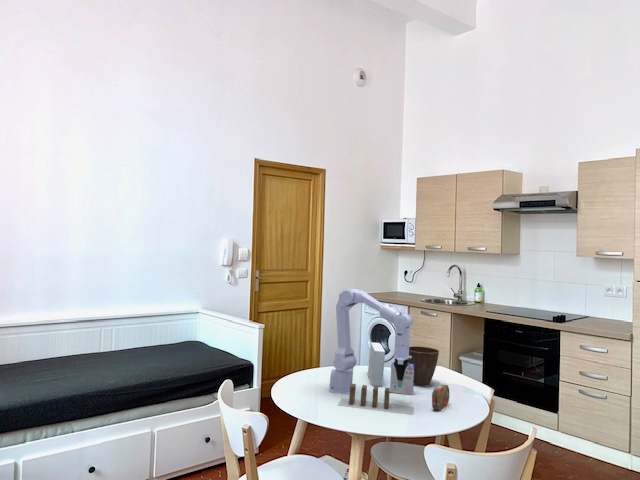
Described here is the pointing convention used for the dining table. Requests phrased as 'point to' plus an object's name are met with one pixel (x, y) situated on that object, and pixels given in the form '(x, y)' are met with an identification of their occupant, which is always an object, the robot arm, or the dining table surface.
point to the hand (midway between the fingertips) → (400, 378)
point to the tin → (440, 397)
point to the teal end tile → (400, 384)
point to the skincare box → (376, 364)
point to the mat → (378, 406)
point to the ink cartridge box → (407, 380)
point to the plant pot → (423, 364)
